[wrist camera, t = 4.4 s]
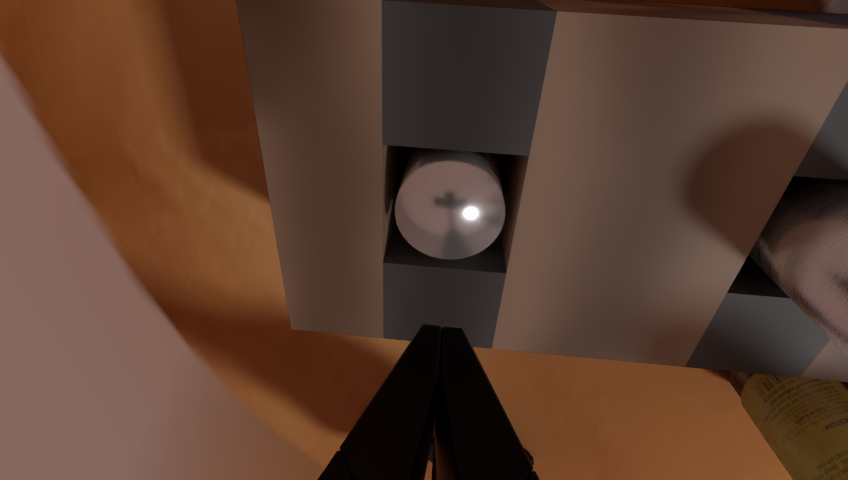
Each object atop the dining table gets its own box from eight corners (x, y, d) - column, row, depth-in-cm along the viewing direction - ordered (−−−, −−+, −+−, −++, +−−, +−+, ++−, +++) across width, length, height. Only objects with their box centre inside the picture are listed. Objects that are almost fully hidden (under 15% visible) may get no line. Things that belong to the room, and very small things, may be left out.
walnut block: (953, 20, 16) (1242, 53, 10) (786, 276, 22) (900, 387, 16) (314, -19, 17) (234, -9, 11) (334, 237, 23) (291, 329, 17)
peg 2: (841, 155, 15) (1076, 275, 9) (789, 239, 17) (956, 382, 11) (737, 147, 15) (906, 260, 10) (697, 232, 17) (817, 368, 11)
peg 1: (498, 104, 19) (513, 167, 13) (487, 179, 21) (496, 263, 15) (417, 98, 19) (395, 158, 13) (413, 173, 21) (394, 254, 15)
